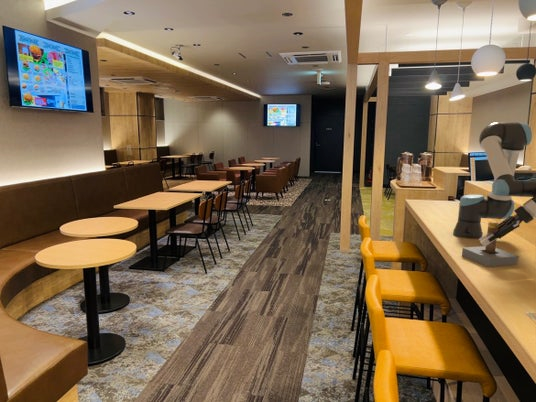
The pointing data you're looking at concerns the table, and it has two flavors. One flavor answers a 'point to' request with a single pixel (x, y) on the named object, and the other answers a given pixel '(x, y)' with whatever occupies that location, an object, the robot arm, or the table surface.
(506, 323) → the table surface
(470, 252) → the socket plate
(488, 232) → the yellow capped peg
